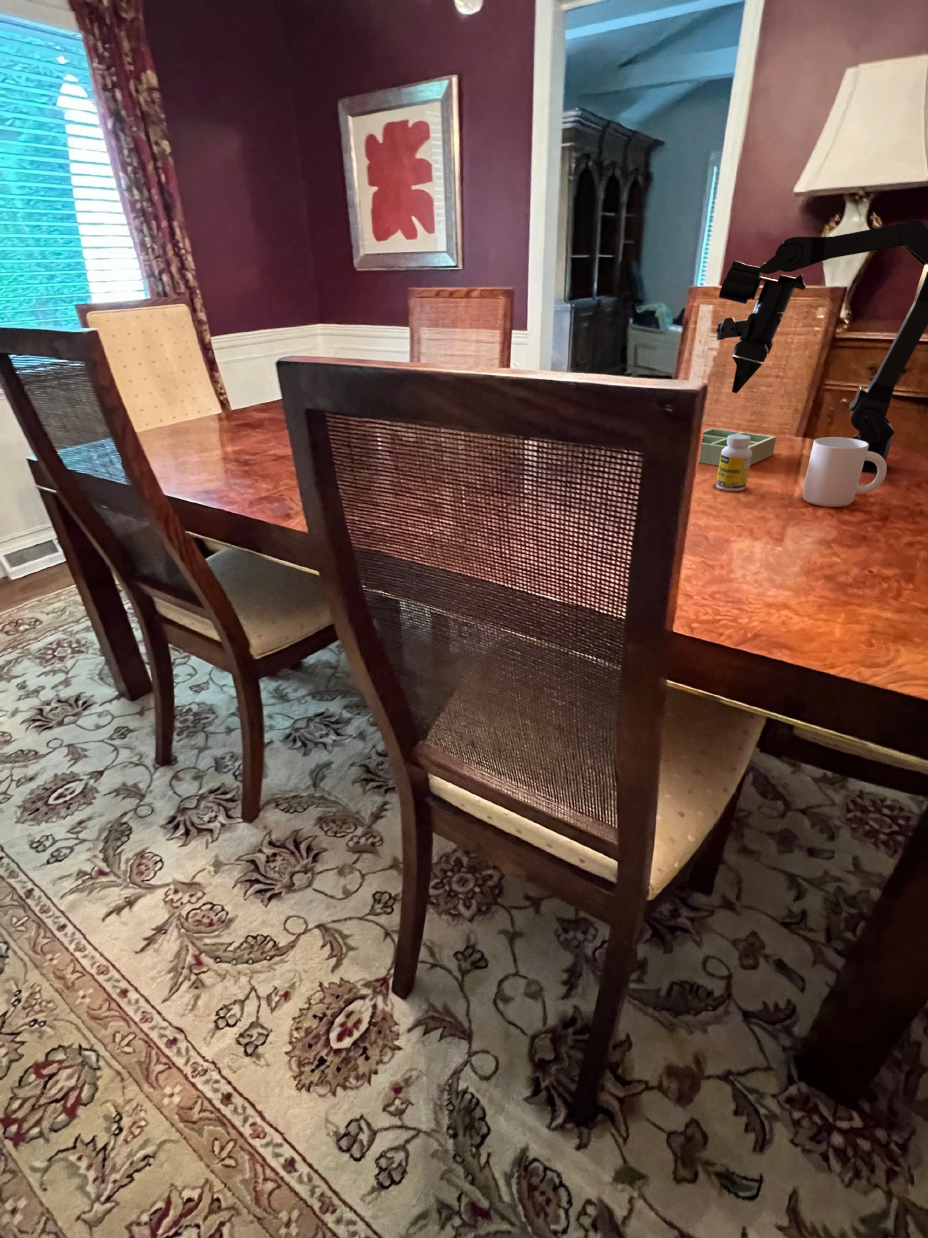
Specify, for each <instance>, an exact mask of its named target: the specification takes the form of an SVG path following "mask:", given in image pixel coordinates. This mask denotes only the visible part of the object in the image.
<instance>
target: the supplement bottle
mask: <svg viewBox="0 0 928 1238" xmlns="http://www.w3.org/2000/svg"><path fill="white" fill-rule="evenodd" d="M750 439H751V437H750V436H747V435H741V434H733V435H729V436H728V439H727V445H728V446H727V447H725V448H724V449H723V450H722V452H721V457H720V463H719V466H718V468H717V469H718V470H717V476H716V483H715V487H716V488H717V489H719V490H722V491H726V492H739V491H744V490H745V489H746V488H747V483H748V479H749V474H750V473H749V472H750V466H751V465H750V462H751V457H752V451H751V449H750V448H748V446H749V445H750Z"/></svg>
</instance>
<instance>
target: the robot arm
mask: <svg viewBox="0 0 928 1238" xmlns="http://www.w3.org/2000/svg"><path fill="white" fill-rule="evenodd" d="M897 247H899V248H900V247H903V248H904V250H906V251H907V252H908V253H909V254H911V256H912V257H913V258H914V259H916V260H917V262H918V263H920V264H921V265H922V266H923V269H922V273H921V274H920V275H921V276H920V277H919V282H918V285H917V288H916V293H915V296H914V300H913V303H912V304H911V306H910V308H909V311H908V312H907V314H906V316H905V318H904V320H903V322H902V324H901V326H900V328H899V329H898V332H897V334H896V335H895V337H894V340H893V341H892V343H891V345H890V347H889V349H888V351H887V353H886V355H885V356H884V358H883V360H882V362H881V364H880V366H879V368H878V370H877V372H876V374H875V376H874V378H872V380H871V381H870V382H869V384H868V385H867V386H866V387H864V386H863V385H859V386H858V387H857V390H856V392H855V393H856V394H855V396H854V398H853V400H852V401H851V402H850V403H849V404H848V407H849V411H850V412H849V416H850V417H849V418H850V422H851V425H852V427H853V429H855V430H857V431H858V432H859V433H856V434H855V435H853V437H852V439H857V440H861V441H864V442H867V443H868V444H869V446H868V450H867V451H871V452H875V453H877V454H879V455H880V456H882V457H883V459H884V460H885V462H886V467H888V463H887V458H888V455H889V452H890V448H891V445H892V441H893V436H894V434H895V430H894V428H893V425H892V423H891V422H890V420H889V419H888V418H887V413H888V411H889V408H890V405H891V402H892V398H893V394H894V390H895V386H896V385H897V383H898V381H899V379H900V378H901V375H902V374H903V371H904V369H905V368H906V366H907V364H908V362H909V360H910V358H911V356H912V355H913V353H914V352H915V350H916V348H917V346H918V343H919V342H920V341H921V338H922V337H923V335H924V333H925V331H926V329H927V327H928V227H926V225H925V223H924V222H923V221H922V220H920V219H911V220H908V221H905V222H903V223H897V224H891V225H886V226H882V227H881V226H880V227H876V228H870V229H865V230H860V231H853V232H850V233H844V234H838V235H835V236H792V237H789V238H787V239H784V241H782V242H781V243H780V244H779V246H778V247H777V249H776V251H775V254H774V255H773V256H772V257H771V258H770V259H768V261H766V262H763V264H762V265H761V266H755V265H751V264H746V263H743V262H741V261H738V260H733V261H732V262H731V266H730V268H729V270H728V272H727V274H726V277H725V278H724V279H723V281H722V285H721V287H720V291H719V293H718V299H723V300H727V301H731V302H734V303H739V304H743V305H747V304H748V302H749V300H752V301H754V300H755V299H756V297H757V295H758V292H759V289H760V288H761V291H760V293H759V296H758V298H757V301H756V303H755V305H754V308H753V311H752V312H751V313H749V315H748V317H747V318H743V319H736V320H735V318H734V316H731V317H725V318H724V319H723V321H719V322H717V324H716V341H724V340H725V339H732V338H739V339H738V340H739V341H738V342H736V343H735V345H734V348H733V350H732V352H731V358H732V359H733V361H734V363H735V365H736V367H735V373H734V377H733V383H732V390H731V392H732V394H733V393H734V394H738V393H739V392H740V391H741V389H742V388H743V387H744V386H745V385H746V384H747V383H748V381H749V380H750V379H751V378H753V376H754V374H755V373H756V372H757V371H758V370H759V369H760V368H761V366H762V365H764V362H765V360H766V359H767V357H768V356H769V354H770V352H771V350H772V348H773V345H774V342H773V341H774V338H775V336H776V333H777V331H778V328H779V326H780V324H781V322H782V320H783V317H784V315H785V312H786V311H787V307H788V305H789V303H790V301H791V299H792V296H793V293H794V292H795V289H798V290H802V291H803V290H806V287H807V285H806V283H805V281H804V274H799V275H798V276H796V277H793V276H790V275H784V274H780V275H779V276H778V279H772V278H768V277H763V276H762V274H765V275H772V274H775V273H777V272H780V271H781V272H784V273H792V272H795V271H798V270H801V269H804V268H807V267H810V266H813V265H815V264H819V263H822V262H824V261H827V260H830V259H836V258H841V257H842V258H843V257H848V256H853V255H858V254H864V253H869V252H870V253H871V252H875V251H881V250H887V249H893V248H897ZM762 282H763V286H762V287H761V284H762ZM862 471H866V472H873V473H877V466H876V464H875V463H874V462H872V461H867V460H865V461H864V465H863V468H862Z"/></svg>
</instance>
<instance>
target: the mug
mask: <svg viewBox="0 0 928 1238" xmlns="http://www.w3.org/2000/svg"><path fill="white" fill-rule="evenodd" d="M868 446H869V444H868V443H867V442H864V441H861V440H857V439H853V438H851V437H841V436H840V437H839V436H828V437H819V438H815V439H814V440H813V444H812V448H811V452H810V455H809V460H808V465H807V469H806V474H805V478H804V483H803V486H802V492H801V498H802V499H803V501H805V502H806V503H809V504H811V505H814V506H818V507H826V508H842V507H847V506H849V505H851V504H852V503H853V502H854V499H855V497H856V495H865V494H869V493H871V492H873V491H875V490H876V489H878V488H879V487H880V486H881V484H883V482H884V480H885V478H886V475H887V470H888V469H887V467H888V466H886V463H887V461H886V462H885V460H884V459H883V457H882V456H880V455H879V454H877V453H875V452H871V451H867V450H868ZM865 460H867V461H872V462H874V463H875V464H876V466H877V472H876V474H875V475H876V476H875V477H874V479H873V480H872V481H871V482H870V483H869V484H866V485H859V483H860V479H861V476H862V471H863V470H862V468H863V465H864V461H865Z"/></svg>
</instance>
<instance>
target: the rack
mask: <svg viewBox="0 0 928 1238" xmlns="http://www.w3.org/2000/svg"><path fill="white" fill-rule="evenodd" d="M703 431H704V433H703V439H702V444H701V454H700V460H699V462H698V463H700V464H706V465H713V466H718V467H719V463H720V457H721V452H722V450H723V449H724V448H725V447H727V446H728V445H727V439H728V436H729V435H733V434H741V435H747V436H750V437H751V439H750V445H749V446H748V448H750V449H751V451H752V457H751V462H750V466H752V465H753V464H756V463H758V462H761V461H763V460H765V459H768V458H770V457H771V456H774V451H775V446H776V441H777V435H776V436H775V435H767V434H759V433H754V432H753V433H752V432H744V431H737V430H730V429H721V428H714V427H711V428H710V427H709V428H707V429H705V430H703Z"/></svg>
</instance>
